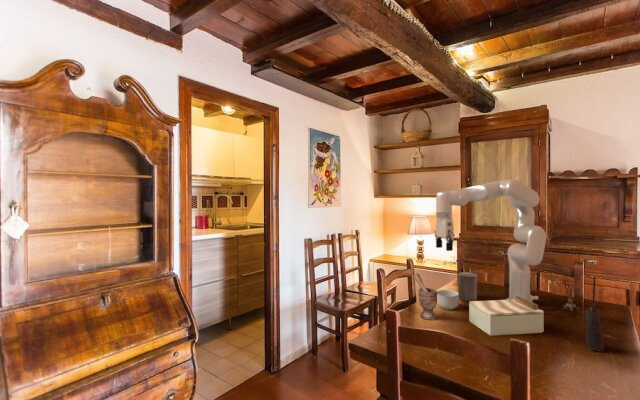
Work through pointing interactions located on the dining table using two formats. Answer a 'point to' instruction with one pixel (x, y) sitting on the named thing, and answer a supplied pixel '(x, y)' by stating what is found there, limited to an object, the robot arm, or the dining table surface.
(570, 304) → the eiffel tower figurine
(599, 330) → the butter churn
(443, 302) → the teacup
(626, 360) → the dining table surface
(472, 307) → the box
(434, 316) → the mortar and pestle
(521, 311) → the lid
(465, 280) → the pillar candle
